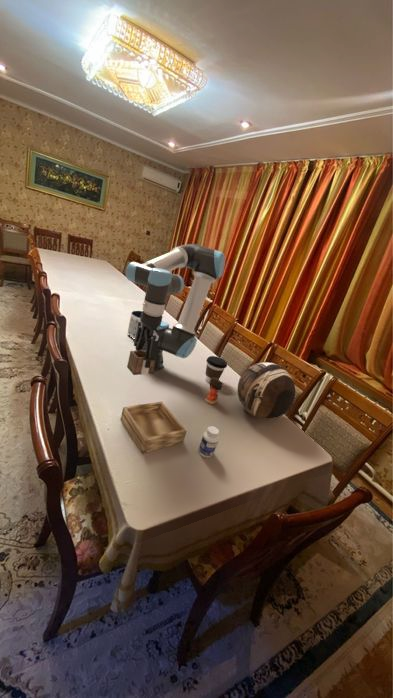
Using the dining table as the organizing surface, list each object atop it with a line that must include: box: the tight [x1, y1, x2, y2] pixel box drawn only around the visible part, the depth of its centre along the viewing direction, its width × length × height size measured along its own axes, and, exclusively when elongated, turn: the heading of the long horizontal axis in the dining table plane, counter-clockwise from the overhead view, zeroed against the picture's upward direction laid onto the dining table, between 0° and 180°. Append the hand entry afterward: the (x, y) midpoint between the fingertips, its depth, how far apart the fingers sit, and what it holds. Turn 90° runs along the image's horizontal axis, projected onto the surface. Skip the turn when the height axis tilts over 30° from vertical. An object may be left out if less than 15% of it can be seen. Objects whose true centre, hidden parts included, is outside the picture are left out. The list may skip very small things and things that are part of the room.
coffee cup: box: [204, 355, 228, 384], centre depth 150 cm, size 11×11×12 cm
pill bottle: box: [198, 425, 220, 458], centre depth 98 cm, size 5×5×10 cm
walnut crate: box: [126, 350, 156, 376], centre depth 110 cm, size 8×6×7 cm
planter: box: [127, 310, 143, 338], centre depth 179 cm, size 16×16×14 cm
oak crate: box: [120, 401, 187, 454], centre depth 102 cm, size 16×18×5 cm
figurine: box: [203, 377, 223, 405], centre depth 130 cm, size 6×6×12 cm
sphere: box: [237, 361, 296, 420], centre depth 129 cm, size 25×25×25 cm
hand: (140, 369), depth 111 cm, fingers closed on walnut crate, 6 cm apart
